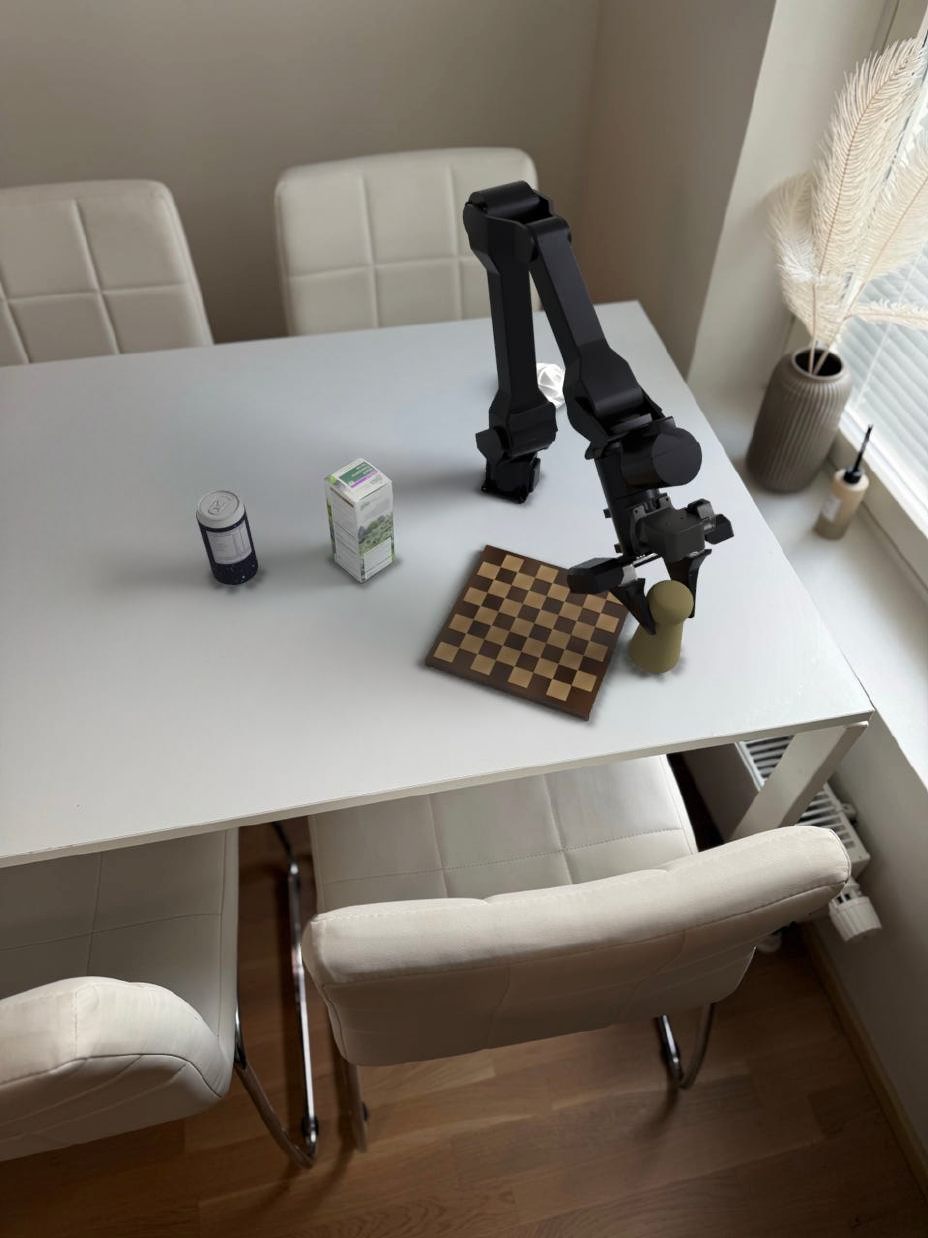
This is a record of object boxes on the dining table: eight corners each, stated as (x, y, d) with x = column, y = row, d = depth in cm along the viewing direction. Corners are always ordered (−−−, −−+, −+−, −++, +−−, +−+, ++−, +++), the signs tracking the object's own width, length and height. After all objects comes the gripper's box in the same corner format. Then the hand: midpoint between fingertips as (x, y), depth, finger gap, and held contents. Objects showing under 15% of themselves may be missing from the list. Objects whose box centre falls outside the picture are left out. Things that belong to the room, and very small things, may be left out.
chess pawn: (677, 677, 106) (699, 618, 98) (625, 668, 107) (642, 608, 98) (680, 636, 110) (701, 576, 101) (630, 628, 111) (646, 567, 102)
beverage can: (267, 563, 117) (252, 494, 108) (246, 595, 114) (228, 526, 104) (227, 551, 118) (209, 482, 109) (205, 583, 115) (184, 514, 106)
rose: (514, 347, 140) (578, 348, 140) (512, 371, 143) (575, 373, 143) (515, 388, 133) (582, 389, 133) (513, 412, 137) (579, 414, 137)
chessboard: (424, 665, 108) (424, 659, 107) (486, 549, 119) (486, 543, 118) (588, 721, 103) (589, 715, 102) (635, 595, 115) (637, 589, 114)
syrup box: (366, 538, 120) (359, 453, 109) (397, 562, 118) (392, 478, 106) (332, 560, 118) (321, 476, 106) (363, 586, 115) (354, 502, 104)
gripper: (595, 516, 89) (641, 665, 92) (746, 457, 95) (785, 599, 98) (545, 521, 100) (588, 655, 102) (684, 468, 106) (721, 595, 108)
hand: (671, 626), depth 103 cm, fingers closed on chess pawn, 5 cm apart
